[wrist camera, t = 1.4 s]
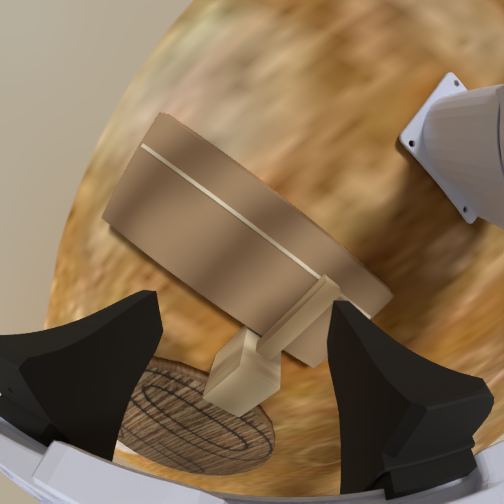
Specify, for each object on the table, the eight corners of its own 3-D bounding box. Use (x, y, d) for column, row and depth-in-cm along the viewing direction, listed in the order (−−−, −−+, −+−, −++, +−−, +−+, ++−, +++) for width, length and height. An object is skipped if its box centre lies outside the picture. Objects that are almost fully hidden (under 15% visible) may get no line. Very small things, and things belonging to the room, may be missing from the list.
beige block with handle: (344, 281, 21) (360, 322, 16) (240, 377, 26) (232, 421, 20) (310, 254, 20) (318, 290, 15) (210, 359, 25) (195, 403, 20)
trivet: (199, 475, 37) (197, 483, 35) (73, 395, 33) (67, 403, 31) (317, 432, 29) (318, 445, 27) (139, 310, 24) (130, 321, 23)
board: (388, 286, 21) (394, 296, 19) (312, 356, 24) (314, 369, 22) (168, 114, 18) (159, 112, 16) (111, 212, 21) (100, 217, 19)
